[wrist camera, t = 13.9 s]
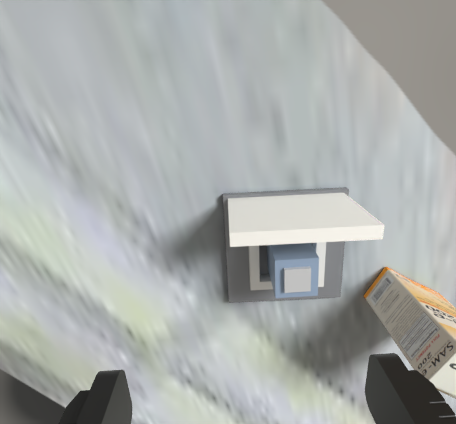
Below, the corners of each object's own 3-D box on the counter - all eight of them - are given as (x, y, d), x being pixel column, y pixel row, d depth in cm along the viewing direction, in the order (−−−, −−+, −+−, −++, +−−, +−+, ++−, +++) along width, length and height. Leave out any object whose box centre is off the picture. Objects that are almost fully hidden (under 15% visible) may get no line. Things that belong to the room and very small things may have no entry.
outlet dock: (222, 193, 34) (222, 229, 25) (345, 187, 34) (391, 221, 25) (228, 298, 39) (230, 362, 29) (338, 293, 39) (374, 355, 29)
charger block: (266, 234, 35) (275, 262, 29) (303, 231, 35) (320, 259, 29) (267, 266, 36) (276, 300, 30) (303, 264, 36) (318, 298, 30)
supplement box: (440, 291, 39) (541, 382, 26) (415, 321, 40) (499, 421, 28) (384, 263, 37) (464, 345, 25) (360, 295, 39) (424, 388, 26)
